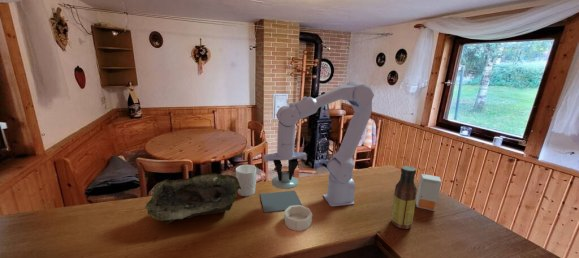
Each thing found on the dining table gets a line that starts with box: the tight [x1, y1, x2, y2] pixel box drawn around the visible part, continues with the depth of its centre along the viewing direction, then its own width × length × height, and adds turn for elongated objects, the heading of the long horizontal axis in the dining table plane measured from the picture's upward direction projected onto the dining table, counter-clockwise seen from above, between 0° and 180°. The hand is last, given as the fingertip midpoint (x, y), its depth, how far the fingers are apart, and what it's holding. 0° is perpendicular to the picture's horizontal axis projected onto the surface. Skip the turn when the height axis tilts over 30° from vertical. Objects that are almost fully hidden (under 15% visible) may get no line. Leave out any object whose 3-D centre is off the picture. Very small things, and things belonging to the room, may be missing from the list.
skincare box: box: [415, 173, 443, 212], centre depth 87 cm, size 6×4×12 cm
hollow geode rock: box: [144, 172, 241, 225], centre depth 79 cm, size 28×13×15 cm
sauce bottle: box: [391, 165, 418, 230], centre depth 75 cm, size 7×6×20 cm
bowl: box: [283, 204, 313, 232], centre depth 76 cm, size 8×8×4 cm
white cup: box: [235, 164, 257, 197], centre depth 93 cm, size 8×8×10 cm
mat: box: [259, 190, 303, 214], centre depth 88 cm, size 14×12×1 cm
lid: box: [271, 170, 299, 190], centre depth 82 cm, size 9×9×4 cm
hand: (284, 179), depth 83 cm, fingers closed on lid, 3 cm apart
